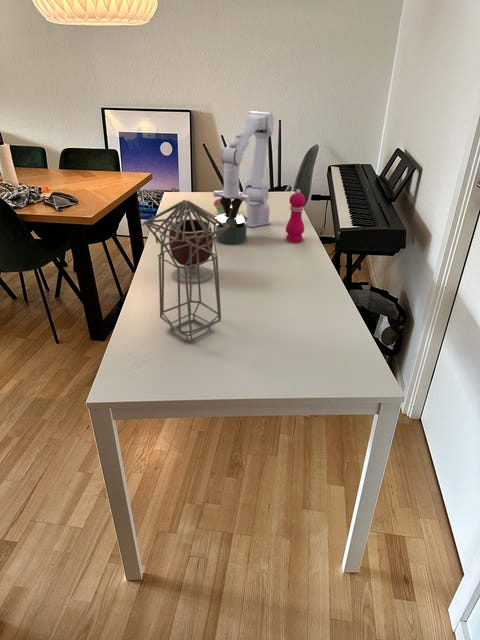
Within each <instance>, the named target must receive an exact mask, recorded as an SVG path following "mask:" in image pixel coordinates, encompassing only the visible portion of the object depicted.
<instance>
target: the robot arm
mask: <svg viewBox="0 0 480 640" xmlns="http://www.w3.org/2000/svg"><path fill="white" fill-rule="evenodd" d="M274 126H275V117H274V115H273V113H272V112H265V111H263V112H262V111H252V110H248V112H247V113H246V115H245V123H244V126H243V128H242V130H241V132H240V133H236V134H235V136H234V137H233V139H232V140H231V141H230V143H229V144H228V146H225V147H224V148H222V150H221V151H220V156H219V157H220V162H221V168H222V169H223V191H222V190H214V191H212V192H213V193H212V194H213V195H212V196H213V197H215V198H217V197H218V198H221V199H220V202H221V204H222V206H223V208H224V211H225V215H226V217H227V218H228V206H230V205H231V204H232V210H233V215H232V216H233V219H235V218H237V214H239V210H240V207H241V205H242V203H243V202H244V203H245V204H246V213H245V214H246V215H245V216H246V217H247V219H248V220H247V221H246V224H247V226H248V227H250V228H254V227H260V226H266V225H270V204H269V203H268V199H269V185H268V183H267V182H266V181H265V180H264V174H265V167H266V166H265V165H266V160H267V159H266V158H267V152H268V144H269V137H271V136H273V132H274ZM252 136H254V137H255V144H254V152H253V160H252V168H251V176H250V179H249V180H247V181H245V183H244V186H243V189H242V193H241V192H240V165H241V164H242V162H243V157H244V156H245V155H244V152H245V151H246V149H247V148H248V147H249V145H250V138H251V137H252Z"/></svg>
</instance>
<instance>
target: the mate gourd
mask: <svg viewBox="0 0 480 640" xmlns="http://www.w3.org/2000/svg"><path fill="white" fill-rule="evenodd" d="M170 220H171V219H169V220H168V221H167V224H168V223H169V221H170ZM192 220H193V224H194V227H195V231H196V234H197V236H201V235H202V233H203V232H204V230H203V229H202V227H201V226H200V224H199V223H198V221H197V220H196V218H192ZM202 220H203V222H204V224H205V225H206V227H207V225H208V221H206V220H205V219H202ZM182 221H183V219H182ZM200 222H201V221H200ZM175 223H176V220H175V221H174V220H173V221H172V223H171V224H170V226H169V229H172V228H175ZM178 224H179V220H177V228H178ZM202 225H203V224H202ZM183 228H184V223H183V224H182V226H181V227H180V230H181V231H182V232H183ZM208 229H209V230H210V231H212V232H213V230H212V223H211V222H209V228H208ZM181 231H179V235H178V239H177V240H183V234H182V233H181ZM207 232H208V231H207ZM176 233H177V230H175V231H168V235H169V236H172V237H176ZM184 234H185V235H186V237H190V236H194V232H193V229H192V225H191V222H190V218H186V221H185V232H184ZM208 234H209V232H208ZM204 235H206V233H205V234H204ZM186 237H185V236H184V238H186ZM212 239H213V235H210V236H208V242H209V241H210V240H212ZM171 240H173V239H170V238H168V242H169V241H171ZM189 240H190V241H191V242H192V243H193V244H195V245H196V239H195V238H192V239H189ZM198 240H199V239H197V241H198ZM186 244H189V243H187V242H185V241H184V242H180V241H175V242H173V243H171V244H169V249H173V248H176V247H180V246H183V245H186ZM204 244H207V237H204V238H202V239H201V240H200V242H199V243H198V246H202V245H204ZM209 246H210V248H211V251H212V252H213V247H214V241H213V242H212V243H210V244H209ZM203 248H204V249H206V250H208V251H209V249H208V246H206V247H203ZM195 249H196V248H195V247H193V246H192V254H193V252H194V251H195ZM170 253H171V255H172V256H173V258H174V260H175V261H176V263H177V264H179V265H180V266H185V264H186V263H187V261H188V260H189V258H190V244H189V245H188V246H185V247H181V248H178V249H175V250H171V251H170ZM198 255H199V263H200V262H204V261H207V260H210V259H209V258H210V257H212V256H211V254H210V253H208V252H206V251H204V250H202V249H199V250H198ZM194 264H197V255H196V252H195V253H194V255H193V256H192V265H194ZM204 264H205V263H202V264H199V272H200V283H203V282H206V281H208V280H209V279H211V277H212V271H211V270H210V269H209V268H207V267H205V266H202V265H204ZM187 266H190V261H189V262H188V264H187V265H186V267H187ZM179 271H180V283H184V284H186V283H185V271H184V269H182V268H179ZM173 277H174V280H176V281H178V278H177V269H176V270H175V271H174V272H173ZM187 280H188V284H190V268H187ZM192 284H198V272H197V265H196V266H193V267H192Z"/></svg>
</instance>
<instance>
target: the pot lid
mask: <svg viewBox="0 0 480 640" xmlns="http://www.w3.org/2000/svg"><path fill="white" fill-rule="evenodd" d="M232 215H233V210H232V206H228V218H227V217H226V215H225V214H220V215H219V214H218V215H216V216H215V217H217V218H219V219H221V220H222V221H224V222H226V223H228V224H229V225H238V224H242V223H245V222H246V221H247V220H248V219H247V217H246V215H245V214H241V213H237V218H235V219H233V216H232ZM217 220H218V219H217ZM219 221H220V220H219ZM222 223H223V222H222Z"/></svg>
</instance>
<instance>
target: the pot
mask: <svg viewBox="0 0 480 640" xmlns="http://www.w3.org/2000/svg"><path fill="white" fill-rule="evenodd" d="M235 226H236V227H237V228H228V229H226V230H225V231H224V232H223V233H222V234H221V235H220V236H218V237H217V238H216V239H215V241H217V242H218V243H220V244H223V245H227V246H228V245H230V246H235V245H240V244H243V243H245V242H246V241H247V231H248V229H247V228H248V227H247V226H248V225H247V224H246V222H245V223H242V224H238V225H235ZM222 227H224V226H223V225H220V224H216V227H215V231H216V230H218V229H220V228H222ZM220 232H221V231H220ZM220 232H218V233H220ZM218 233H217V234H218ZM217 234H215V236H216V235H217Z"/></svg>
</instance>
